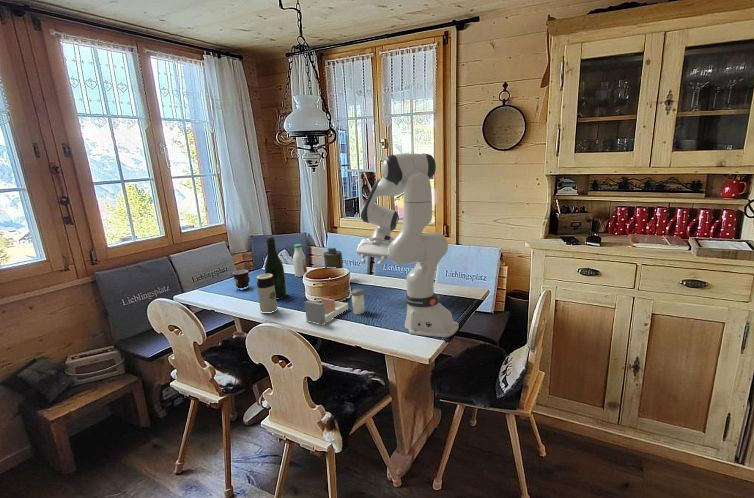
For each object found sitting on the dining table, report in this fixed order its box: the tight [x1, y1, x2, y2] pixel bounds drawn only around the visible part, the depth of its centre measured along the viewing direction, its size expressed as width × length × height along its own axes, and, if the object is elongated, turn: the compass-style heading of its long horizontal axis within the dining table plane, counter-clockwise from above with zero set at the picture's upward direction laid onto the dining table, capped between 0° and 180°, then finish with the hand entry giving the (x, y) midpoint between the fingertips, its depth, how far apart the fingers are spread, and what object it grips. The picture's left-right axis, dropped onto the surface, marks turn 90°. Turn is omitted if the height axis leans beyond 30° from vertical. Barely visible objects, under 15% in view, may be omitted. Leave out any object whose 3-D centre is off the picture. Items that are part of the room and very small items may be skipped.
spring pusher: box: [320, 297, 335, 314], centre depth 187 cm, size 7×1×7 cm, turn 59°
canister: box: [323, 247, 344, 269], centre depth 235 cm, size 11×10×20 cm
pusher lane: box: [304, 300, 350, 325], centre depth 186 cm, size 9×20×10 cm, turn 149°
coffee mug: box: [232, 269, 251, 288], centre depth 233 cm, size 12×9×10 cm
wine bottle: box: [264, 235, 288, 298], centre depth 213 cm, size 10×10×33 cm
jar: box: [350, 288, 366, 315], centre depth 188 cm, size 6×6×11 cm
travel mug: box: [256, 273, 278, 312], centre depth 195 cm, size 8×8×18 cm
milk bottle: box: [292, 243, 308, 278], centre depth 251 cm, size 8×8×20 cm
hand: (370, 264), depth 196 cm, fingers open, 8 cm apart
